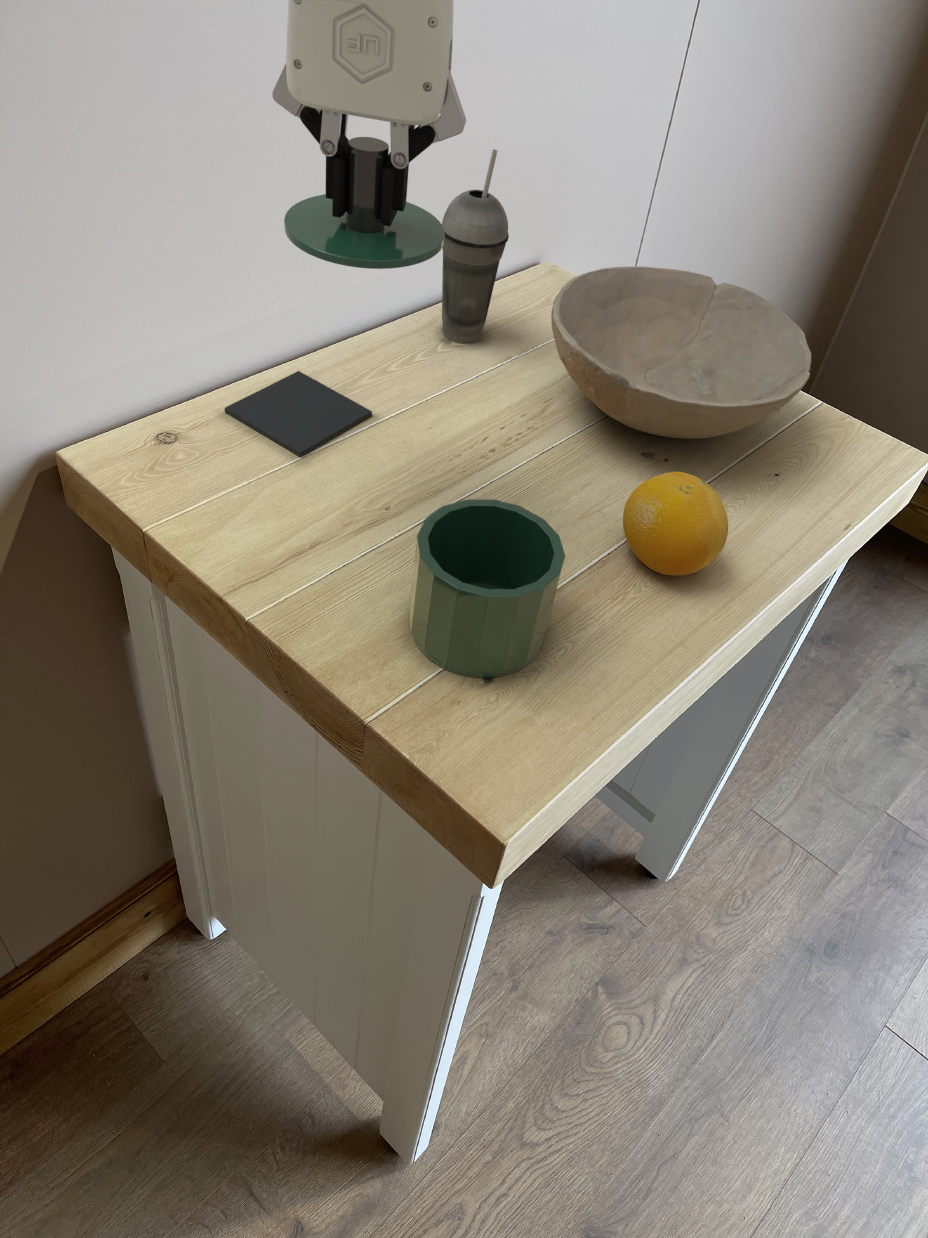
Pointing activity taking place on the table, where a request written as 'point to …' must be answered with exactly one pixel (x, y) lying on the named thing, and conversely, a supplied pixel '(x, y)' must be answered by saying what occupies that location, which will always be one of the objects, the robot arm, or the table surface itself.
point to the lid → (364, 219)
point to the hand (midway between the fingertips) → (365, 211)
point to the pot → (483, 586)
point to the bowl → (677, 350)
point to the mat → (298, 413)
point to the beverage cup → (471, 259)
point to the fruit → (675, 523)
